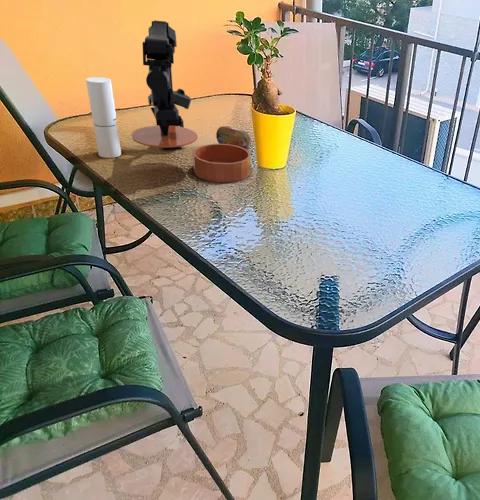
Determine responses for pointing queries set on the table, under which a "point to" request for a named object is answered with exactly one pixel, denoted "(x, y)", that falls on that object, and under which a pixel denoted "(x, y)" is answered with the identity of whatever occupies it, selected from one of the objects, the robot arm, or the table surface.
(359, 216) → the table surface
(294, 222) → the table surface
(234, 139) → the tin
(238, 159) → the pot
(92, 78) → the cylindrical container
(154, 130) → the lid
